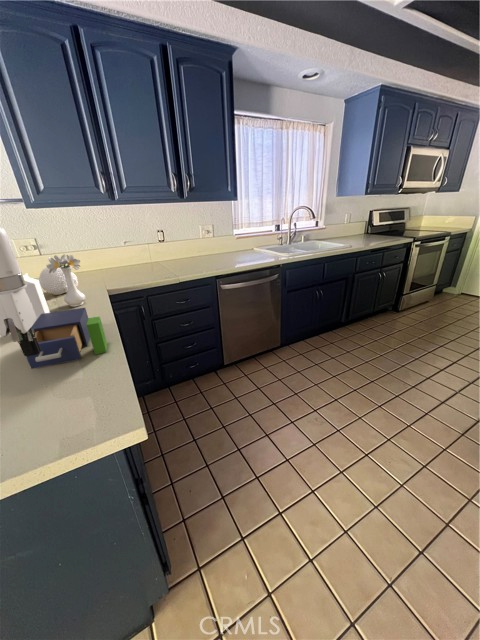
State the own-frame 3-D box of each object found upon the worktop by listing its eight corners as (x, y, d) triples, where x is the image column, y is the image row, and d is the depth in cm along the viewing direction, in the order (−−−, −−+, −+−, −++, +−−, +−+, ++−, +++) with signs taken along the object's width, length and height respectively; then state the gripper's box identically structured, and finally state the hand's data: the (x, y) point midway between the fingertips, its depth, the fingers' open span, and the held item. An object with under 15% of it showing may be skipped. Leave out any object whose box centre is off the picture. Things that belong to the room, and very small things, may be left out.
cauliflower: (65, 282, 140) (51, 256, 141) (38, 300, 141) (23, 274, 141) (89, 288, 160) (76, 265, 161) (65, 303, 160) (52, 280, 161)
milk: (53, 322, 114) (36, 272, 105) (50, 327, 109) (32, 275, 100) (36, 324, 112) (17, 273, 103) (32, 330, 107) (12, 277, 98)
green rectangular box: (95, 354, 89) (86, 325, 84) (96, 346, 94) (88, 318, 89) (106, 352, 90) (98, 323, 85) (107, 344, 95) (99, 316, 90)
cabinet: (87, 345, 94) (80, 321, 90) (39, 355, 89) (29, 329, 85) (91, 329, 107) (85, 307, 103) (49, 336, 102) (41, 313, 98)
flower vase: (92, 297, 144) (79, 250, 134) (88, 308, 129) (73, 256, 118) (65, 300, 140) (49, 252, 130) (57, 312, 124) (39, 259, 114)
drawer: (78, 367, 80) (71, 344, 77) (26, 378, 76) (16, 354, 73) (85, 340, 96) (80, 321, 93) (42, 348, 91) (34, 328, 88)
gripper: (-3, 278, 64) (24, 344, 72) (-35, 295, 52) (3, 373, 59) (33, 274, 67) (56, 338, 74) (12, 290, 54) (43, 365, 62)
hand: (33, 353), depth 67 cm, fingers closed
